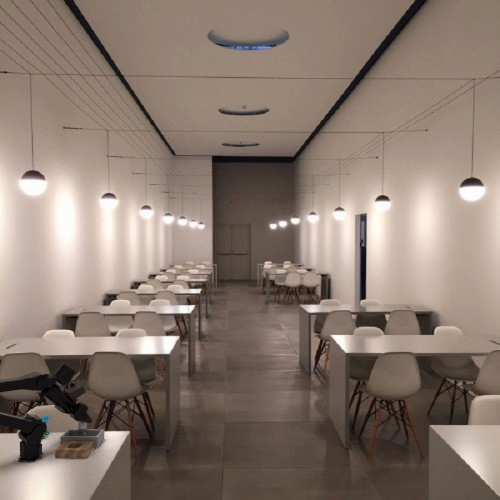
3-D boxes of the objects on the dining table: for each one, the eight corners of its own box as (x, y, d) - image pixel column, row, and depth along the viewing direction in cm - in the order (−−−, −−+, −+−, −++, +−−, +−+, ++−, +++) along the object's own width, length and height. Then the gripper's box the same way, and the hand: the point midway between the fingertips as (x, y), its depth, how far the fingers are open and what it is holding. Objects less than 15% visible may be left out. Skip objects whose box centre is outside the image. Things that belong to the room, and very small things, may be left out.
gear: (28, 428, 210) (47, 409, 211) (39, 436, 212) (58, 418, 213) (26, 441, 200) (46, 422, 201) (38, 450, 202) (57, 430, 203)
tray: (60, 447, 194) (60, 436, 194) (68, 439, 202) (68, 429, 202) (97, 447, 193) (97, 437, 193) (104, 439, 201) (104, 429, 201)
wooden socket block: (55, 458, 184) (55, 449, 184) (64, 449, 192) (64, 441, 192) (86, 458, 184) (85, 450, 184) (93, 449, 192) (93, 441, 192)
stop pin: (79, 443, 195) (78, 414, 195) (77, 440, 198) (76, 411, 198) (87, 441, 197) (86, 412, 196) (86, 438, 200) (85, 410, 199)
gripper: (82, 382, 188) (111, 406, 195) (62, 373, 201) (89, 396, 209) (61, 409, 182) (91, 432, 190) (41, 397, 196) (70, 420, 204)
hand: (86, 419), depth 198 cm, fingers open, 9 cm apart
